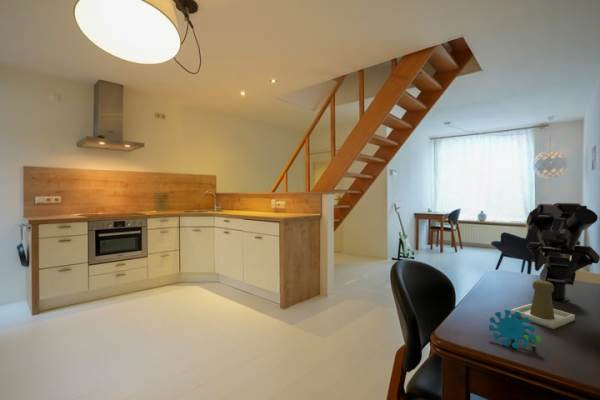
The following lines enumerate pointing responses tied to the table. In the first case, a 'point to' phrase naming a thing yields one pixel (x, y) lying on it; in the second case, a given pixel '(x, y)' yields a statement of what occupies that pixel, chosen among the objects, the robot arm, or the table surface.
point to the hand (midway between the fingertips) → (550, 272)
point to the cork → (542, 300)
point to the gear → (513, 330)
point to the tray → (559, 320)
